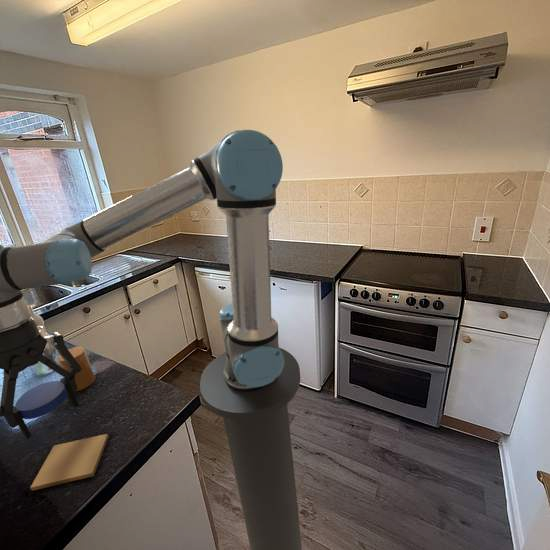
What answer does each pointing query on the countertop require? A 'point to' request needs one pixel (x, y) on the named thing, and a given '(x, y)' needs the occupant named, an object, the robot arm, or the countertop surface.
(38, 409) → the lid
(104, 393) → the countertop surface
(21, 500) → the countertop surface
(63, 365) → the jar
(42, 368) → the beer glass
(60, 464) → the mat
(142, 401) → the countertop surface
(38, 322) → the plastic bottle
